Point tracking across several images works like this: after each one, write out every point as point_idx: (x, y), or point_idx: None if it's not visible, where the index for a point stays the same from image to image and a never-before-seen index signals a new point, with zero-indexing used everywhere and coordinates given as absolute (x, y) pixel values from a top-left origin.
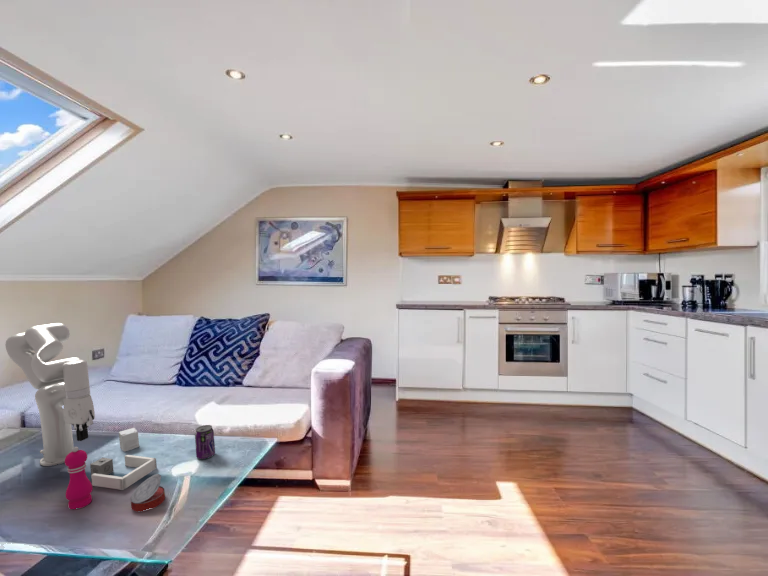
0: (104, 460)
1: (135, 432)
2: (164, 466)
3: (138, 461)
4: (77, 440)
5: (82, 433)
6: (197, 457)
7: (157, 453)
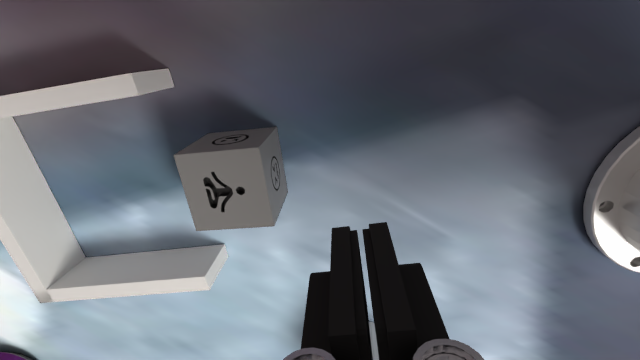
0: (226, 206)
1: None
2: None
3: (131, 270)
4: (380, 223)
5: (316, 318)
6: (7, 355)
7: (209, 344)
